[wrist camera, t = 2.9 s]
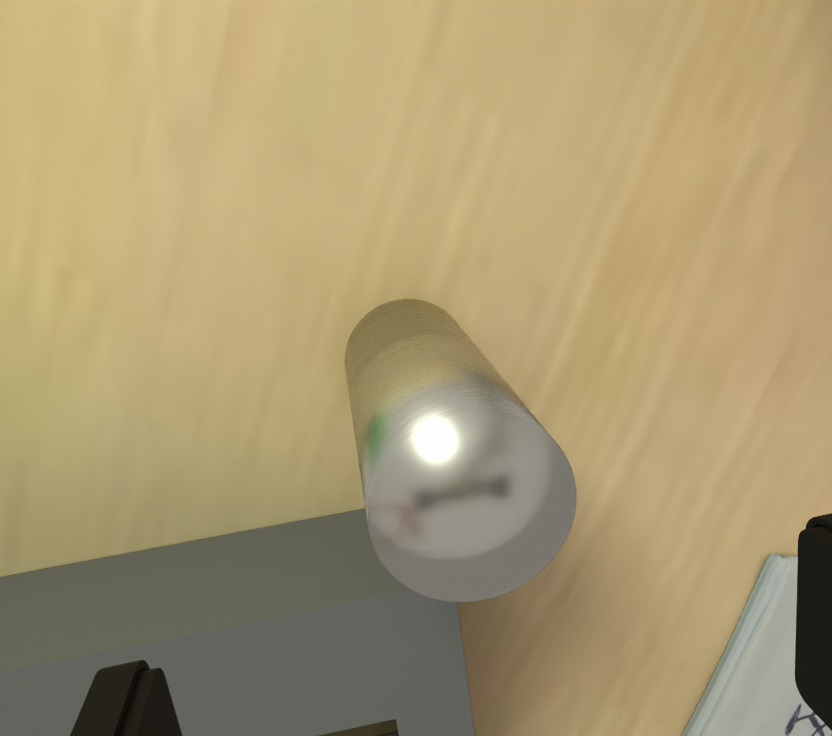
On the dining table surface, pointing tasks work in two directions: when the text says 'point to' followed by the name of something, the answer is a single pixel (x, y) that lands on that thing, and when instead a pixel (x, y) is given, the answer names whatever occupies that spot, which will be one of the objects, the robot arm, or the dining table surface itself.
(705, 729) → the folded cloth
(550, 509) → the metal peg
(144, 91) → the dining table surface
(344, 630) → the socket plate
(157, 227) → the dining table surface
